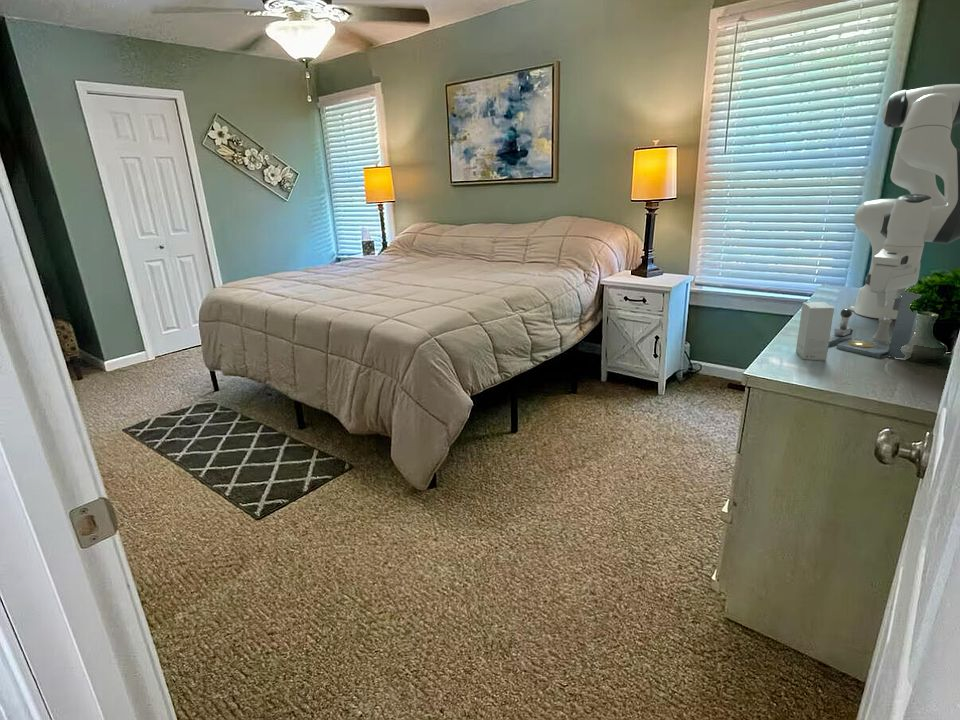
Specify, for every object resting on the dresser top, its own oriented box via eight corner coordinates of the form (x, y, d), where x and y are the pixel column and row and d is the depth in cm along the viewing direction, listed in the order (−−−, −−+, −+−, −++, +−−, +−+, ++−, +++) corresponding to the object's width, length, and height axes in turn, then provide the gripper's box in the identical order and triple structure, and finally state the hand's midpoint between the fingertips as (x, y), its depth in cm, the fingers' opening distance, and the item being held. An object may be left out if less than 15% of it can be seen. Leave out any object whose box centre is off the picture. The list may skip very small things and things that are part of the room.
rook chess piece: (866, 341, 152) (872, 315, 150) (880, 340, 153) (886, 315, 150) (879, 346, 148) (885, 319, 146) (893, 345, 149) (899, 318, 146)
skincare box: (826, 361, 139) (837, 308, 134) (801, 359, 141) (810, 307, 136) (817, 351, 146) (827, 301, 141) (793, 350, 148) (802, 300, 143)
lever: (840, 331, 157) (845, 306, 154) (850, 333, 155) (855, 308, 152) (833, 333, 155) (838, 309, 152) (843, 335, 153) (848, 310, 150)
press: (840, 336, 158) (852, 279, 152) (920, 353, 141) (937, 290, 135) (813, 345, 151) (825, 285, 145) (894, 364, 134) (910, 298, 128)
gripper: (905, 251, 149) (894, 297, 153) (869, 257, 139) (859, 307, 144) (931, 253, 144) (919, 301, 148) (896, 260, 134) (884, 311, 139)
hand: (889, 304), depth 146 cm, fingers open, 8 cm apart
